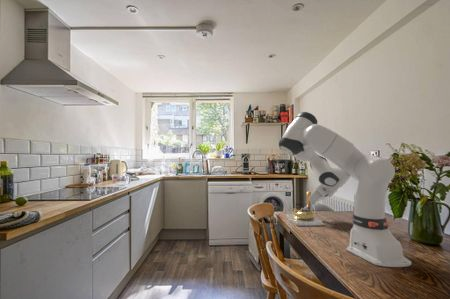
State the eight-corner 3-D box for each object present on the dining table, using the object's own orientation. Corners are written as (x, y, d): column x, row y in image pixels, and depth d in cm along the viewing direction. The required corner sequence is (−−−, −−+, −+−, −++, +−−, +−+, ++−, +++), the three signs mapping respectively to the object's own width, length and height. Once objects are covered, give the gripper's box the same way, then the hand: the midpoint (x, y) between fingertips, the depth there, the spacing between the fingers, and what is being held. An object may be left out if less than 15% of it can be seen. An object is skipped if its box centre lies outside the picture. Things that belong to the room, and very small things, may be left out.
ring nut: (319, 215, 147) (319, 192, 147) (309, 220, 136) (309, 195, 136) (300, 212, 155) (300, 190, 156) (289, 217, 144) (289, 193, 144)
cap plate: (323, 225, 134) (323, 221, 135) (296, 225, 134) (296, 222, 134) (309, 216, 154) (309, 213, 155) (286, 216, 154) (286, 213, 154)
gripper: (329, 183, 152) (314, 197, 158) (315, 187, 137) (300, 202, 143) (336, 191, 149) (321, 205, 155) (324, 195, 134) (307, 210, 140)
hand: (311, 203), depth 149 cm, fingers closed, pressing on ring nut
